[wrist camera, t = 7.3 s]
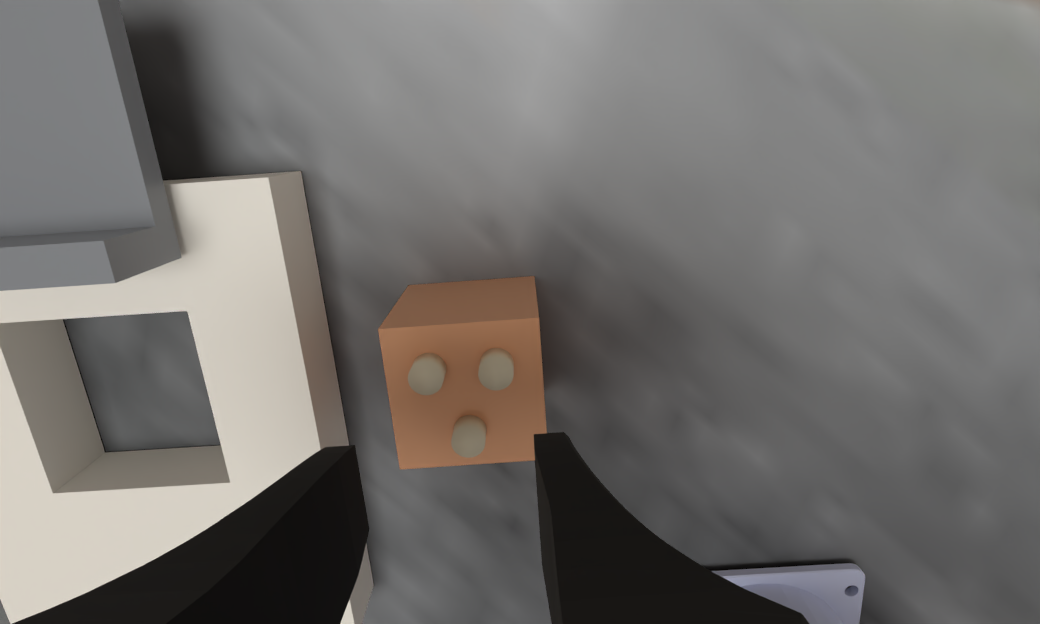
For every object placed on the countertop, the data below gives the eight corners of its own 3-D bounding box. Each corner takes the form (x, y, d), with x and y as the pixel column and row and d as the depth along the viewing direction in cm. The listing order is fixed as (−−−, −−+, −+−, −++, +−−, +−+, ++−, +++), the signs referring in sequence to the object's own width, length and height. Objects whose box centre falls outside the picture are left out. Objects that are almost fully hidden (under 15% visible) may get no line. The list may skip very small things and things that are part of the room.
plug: (542, 390, 21) (549, 473, 16) (424, 398, 21) (394, 483, 16) (534, 275, 19) (539, 326, 14) (408, 284, 19) (371, 338, 15)
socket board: (373, 585, 23) (357, 638, 21) (74, 602, 23) (24, 656, 21) (300, 171, 18) (268, 177, 16) (-75, 197, 18) (-163, 207, 16)
